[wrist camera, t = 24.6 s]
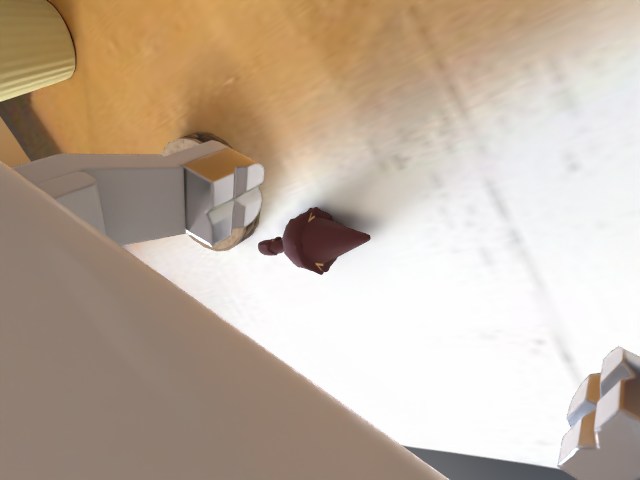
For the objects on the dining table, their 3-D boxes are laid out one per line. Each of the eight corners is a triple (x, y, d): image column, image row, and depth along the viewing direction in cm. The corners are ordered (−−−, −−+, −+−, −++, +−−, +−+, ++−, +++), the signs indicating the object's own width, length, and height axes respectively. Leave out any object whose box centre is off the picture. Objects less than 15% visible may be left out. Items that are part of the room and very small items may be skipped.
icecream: (339, 205, 39) (244, 218, 50) (352, 283, 40) (256, 279, 50) (383, 196, 44) (288, 209, 54) (394, 265, 45) (298, 265, 55)
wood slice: (168, 120, 58) (150, 125, 55) (258, 149, 51) (240, 156, 48) (183, 221, 66) (167, 229, 64) (261, 257, 59) (247, 268, 57)
